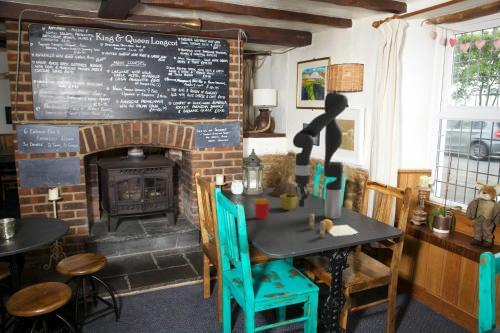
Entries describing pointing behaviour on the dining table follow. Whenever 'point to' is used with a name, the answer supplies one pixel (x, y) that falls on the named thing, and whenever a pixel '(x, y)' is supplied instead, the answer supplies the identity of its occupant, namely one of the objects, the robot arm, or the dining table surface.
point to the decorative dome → (284, 189)
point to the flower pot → (288, 201)
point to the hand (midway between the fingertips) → (301, 206)
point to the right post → (322, 229)
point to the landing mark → (342, 230)
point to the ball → (328, 224)
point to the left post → (311, 221)
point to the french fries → (261, 208)
